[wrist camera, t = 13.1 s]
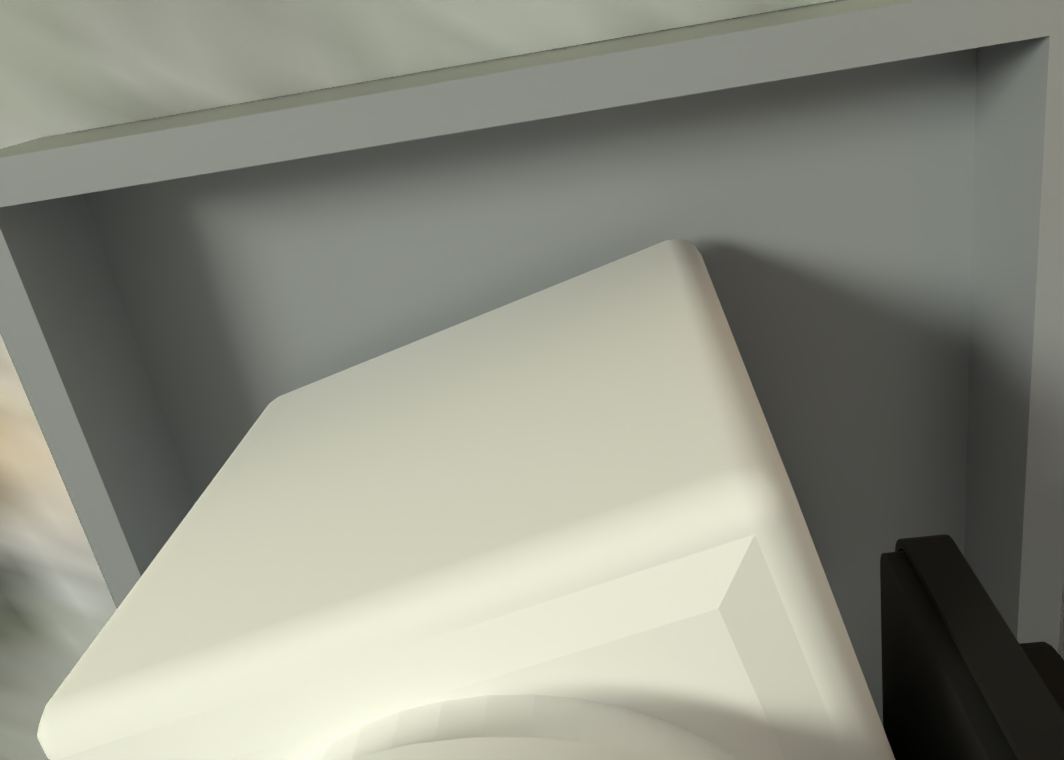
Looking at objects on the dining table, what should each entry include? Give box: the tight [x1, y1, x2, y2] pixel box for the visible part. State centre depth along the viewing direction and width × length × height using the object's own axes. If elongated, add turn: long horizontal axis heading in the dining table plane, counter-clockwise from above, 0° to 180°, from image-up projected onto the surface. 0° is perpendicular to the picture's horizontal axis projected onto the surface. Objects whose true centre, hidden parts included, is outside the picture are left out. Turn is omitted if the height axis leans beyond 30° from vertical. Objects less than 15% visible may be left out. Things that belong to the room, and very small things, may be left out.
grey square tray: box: [0, 0, 1064, 726], centre depth 15 cm, size 14×14×2 cm
